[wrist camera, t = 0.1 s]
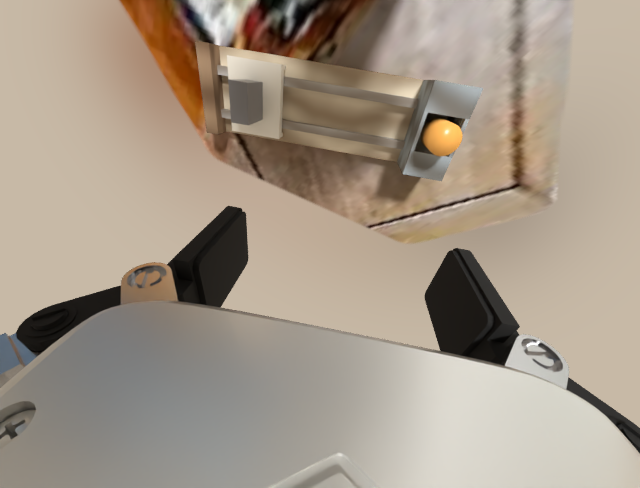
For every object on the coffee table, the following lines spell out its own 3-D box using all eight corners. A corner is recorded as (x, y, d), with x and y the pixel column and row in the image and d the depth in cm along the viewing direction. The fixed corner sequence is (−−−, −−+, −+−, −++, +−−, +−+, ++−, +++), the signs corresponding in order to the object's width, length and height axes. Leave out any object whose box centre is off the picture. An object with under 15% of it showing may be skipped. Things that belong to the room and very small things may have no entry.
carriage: (234, 56, 36) (204, 50, 29) (285, 65, 36) (268, 61, 29) (238, 128, 42) (214, 137, 35) (282, 136, 42) (267, 147, 35)
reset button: (426, 115, 34) (436, 120, 29) (455, 120, 33) (468, 125, 29) (416, 145, 36) (423, 153, 32) (442, 149, 36) (453, 158, 32)
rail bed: (211, 44, 37) (179, 37, 31) (460, 86, 36) (483, 88, 29) (219, 128, 44) (195, 136, 38) (429, 165, 43) (441, 181, 36)
